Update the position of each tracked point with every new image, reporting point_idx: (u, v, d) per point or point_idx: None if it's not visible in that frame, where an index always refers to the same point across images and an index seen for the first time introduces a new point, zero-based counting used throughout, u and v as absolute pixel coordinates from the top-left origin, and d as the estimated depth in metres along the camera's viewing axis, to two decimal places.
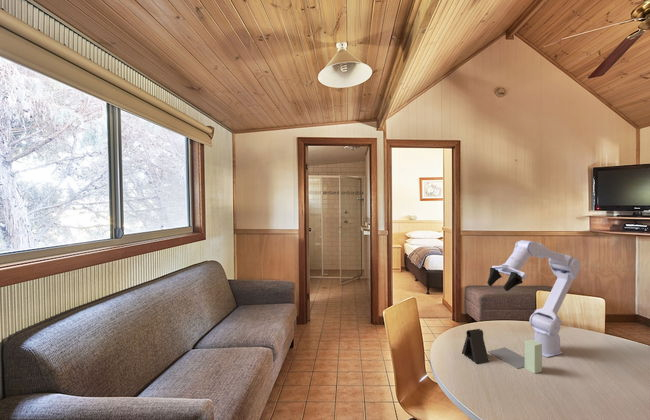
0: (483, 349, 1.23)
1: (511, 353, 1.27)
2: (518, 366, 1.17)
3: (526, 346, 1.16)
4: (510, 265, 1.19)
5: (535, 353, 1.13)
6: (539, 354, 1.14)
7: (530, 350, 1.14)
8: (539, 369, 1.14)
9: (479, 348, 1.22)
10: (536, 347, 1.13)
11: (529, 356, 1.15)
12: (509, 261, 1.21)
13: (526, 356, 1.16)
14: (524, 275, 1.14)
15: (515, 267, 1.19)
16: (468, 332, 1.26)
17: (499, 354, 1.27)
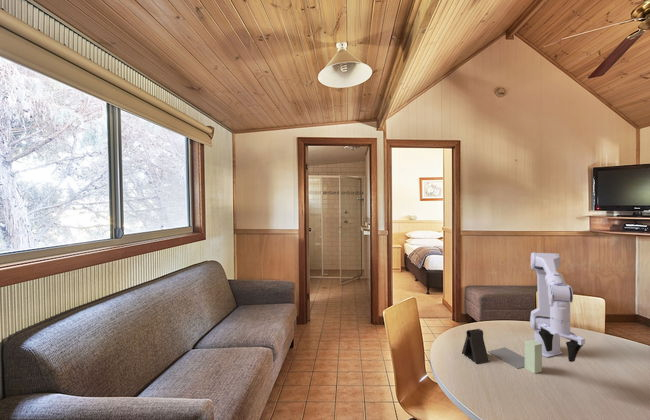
0: (483, 349, 1.23)
1: (511, 353, 1.27)
2: (518, 366, 1.17)
3: (526, 346, 1.16)
4: (559, 330, 1.03)
5: (536, 353, 1.13)
6: (539, 354, 1.14)
7: (530, 350, 1.14)
8: (539, 369, 1.14)
9: (479, 348, 1.22)
10: (536, 347, 1.13)
11: (529, 356, 1.15)
12: (554, 325, 1.05)
13: (526, 356, 1.16)
14: (582, 342, 0.99)
15: (565, 330, 1.03)
16: (468, 332, 1.26)
17: (499, 354, 1.27)
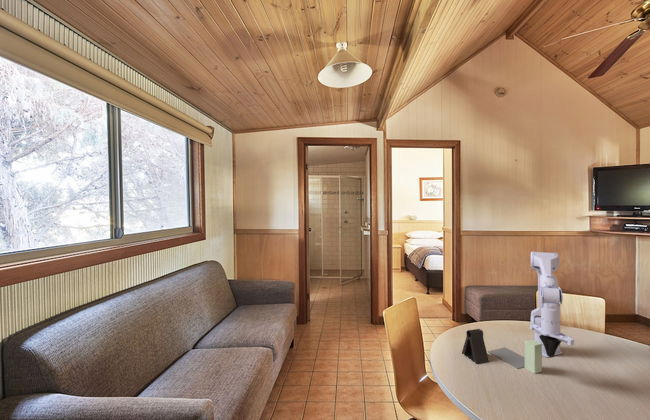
0: (483, 349, 1.23)
1: (511, 353, 1.27)
2: (518, 366, 1.17)
3: (526, 346, 1.16)
4: (549, 331, 1.07)
5: (535, 352, 1.13)
6: (539, 354, 1.14)
7: (530, 350, 1.14)
8: (539, 369, 1.14)
9: (479, 348, 1.22)
10: (536, 347, 1.13)
11: (529, 356, 1.15)
12: (545, 326, 1.08)
13: (526, 356, 1.16)
14: (571, 342, 1.02)
15: (555, 331, 1.06)
16: (468, 332, 1.26)
17: (499, 354, 1.27)
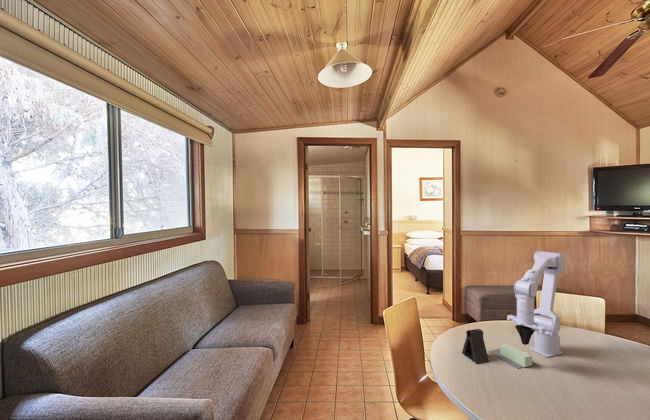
0: (483, 349, 1.23)
1: None
2: (518, 366, 1.17)
3: (504, 354, 1.25)
4: (524, 321, 1.16)
5: (507, 347, 1.24)
6: (513, 348, 1.24)
7: (506, 351, 1.24)
8: (526, 354, 1.19)
9: (479, 348, 1.22)
10: (503, 345, 1.26)
11: (511, 355, 1.22)
12: (520, 316, 1.17)
13: (512, 358, 1.22)
14: (543, 331, 1.11)
15: (529, 321, 1.15)
16: (468, 332, 1.26)
17: (499, 354, 1.27)
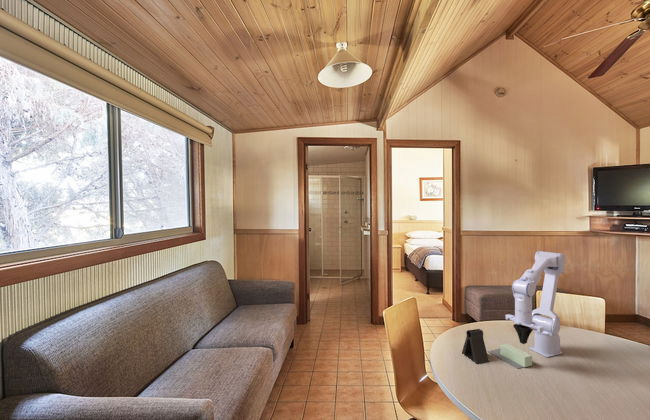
0: (483, 349, 1.23)
1: None
2: (518, 366, 1.17)
3: (504, 354, 1.25)
4: (522, 320, 1.17)
5: (507, 347, 1.24)
6: (513, 348, 1.24)
7: (506, 351, 1.24)
8: (526, 354, 1.19)
9: (479, 348, 1.22)
10: (503, 345, 1.26)
11: (511, 355, 1.22)
12: (518, 315, 1.18)
13: (512, 358, 1.22)
14: (540, 330, 1.12)
15: (527, 320, 1.16)
16: (468, 332, 1.26)
17: (499, 354, 1.27)
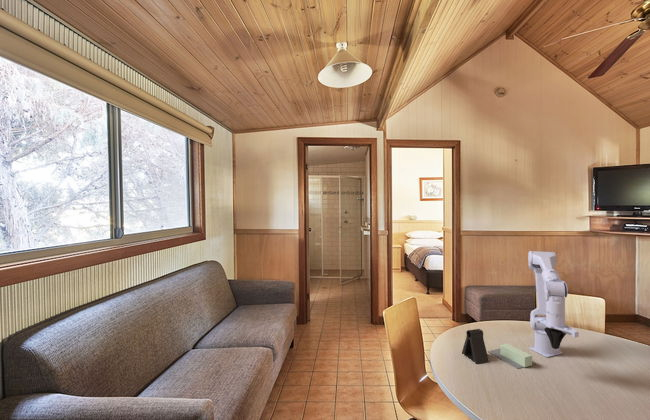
0: (483, 349, 1.23)
1: None
2: (518, 366, 1.17)
3: (504, 354, 1.25)
4: (554, 324, 1.09)
5: (507, 347, 1.24)
6: (513, 348, 1.24)
7: (506, 351, 1.24)
8: (526, 354, 1.19)
9: (479, 348, 1.22)
10: (503, 345, 1.26)
11: (511, 355, 1.22)
12: (550, 318, 1.10)
13: (512, 358, 1.22)
14: (575, 334, 1.04)
15: (560, 323, 1.08)
16: (468, 332, 1.26)
17: (499, 354, 1.27)
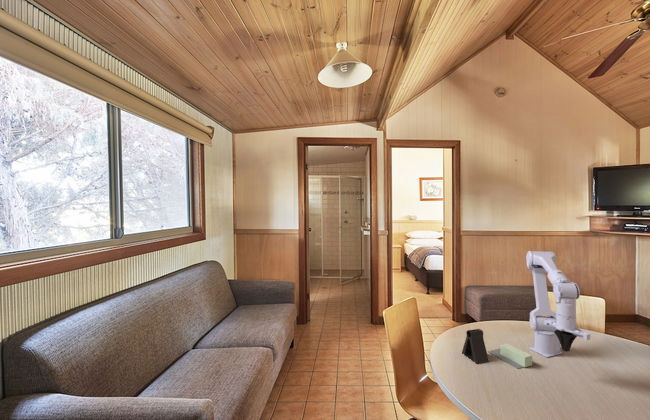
0: (483, 349, 1.23)
1: None
2: (518, 366, 1.17)
3: (504, 354, 1.25)
4: (565, 326, 1.07)
5: (507, 347, 1.24)
6: (513, 348, 1.24)
7: (506, 351, 1.24)
8: (526, 354, 1.19)
9: (479, 348, 1.22)
10: (503, 345, 1.26)
11: (511, 355, 1.22)
12: (561, 321, 1.08)
13: (512, 358, 1.22)
14: (587, 337, 1.02)
15: (571, 326, 1.06)
16: (468, 332, 1.26)
17: (499, 354, 1.27)
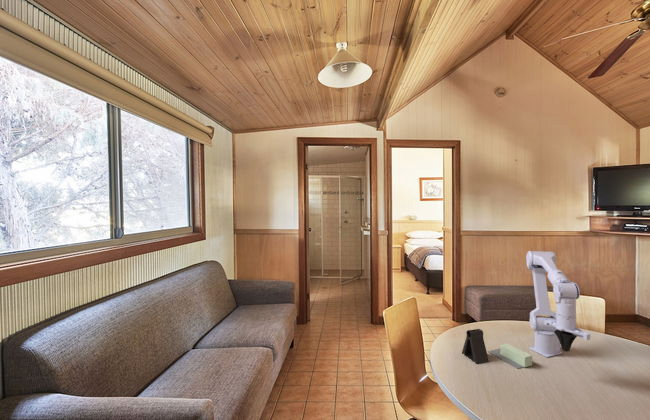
0: (483, 349, 1.23)
1: None
2: (518, 366, 1.17)
3: (504, 354, 1.25)
4: (565, 326, 1.07)
5: (507, 347, 1.24)
6: (513, 348, 1.24)
7: (506, 351, 1.24)
8: (526, 354, 1.19)
9: (479, 348, 1.22)
10: (503, 345, 1.26)
11: (511, 355, 1.22)
12: (561, 321, 1.08)
13: (512, 358, 1.22)
14: (587, 337, 1.02)
15: (571, 326, 1.06)
16: (468, 332, 1.26)
17: (499, 354, 1.27)
